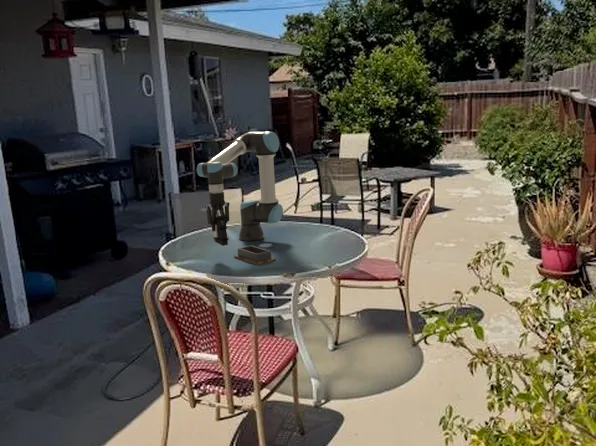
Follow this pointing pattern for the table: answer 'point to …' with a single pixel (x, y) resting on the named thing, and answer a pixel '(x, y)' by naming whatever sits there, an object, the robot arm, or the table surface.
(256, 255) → the cradle
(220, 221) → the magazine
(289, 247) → the table surface
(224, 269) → the table surface
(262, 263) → the board
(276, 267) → the table surface
